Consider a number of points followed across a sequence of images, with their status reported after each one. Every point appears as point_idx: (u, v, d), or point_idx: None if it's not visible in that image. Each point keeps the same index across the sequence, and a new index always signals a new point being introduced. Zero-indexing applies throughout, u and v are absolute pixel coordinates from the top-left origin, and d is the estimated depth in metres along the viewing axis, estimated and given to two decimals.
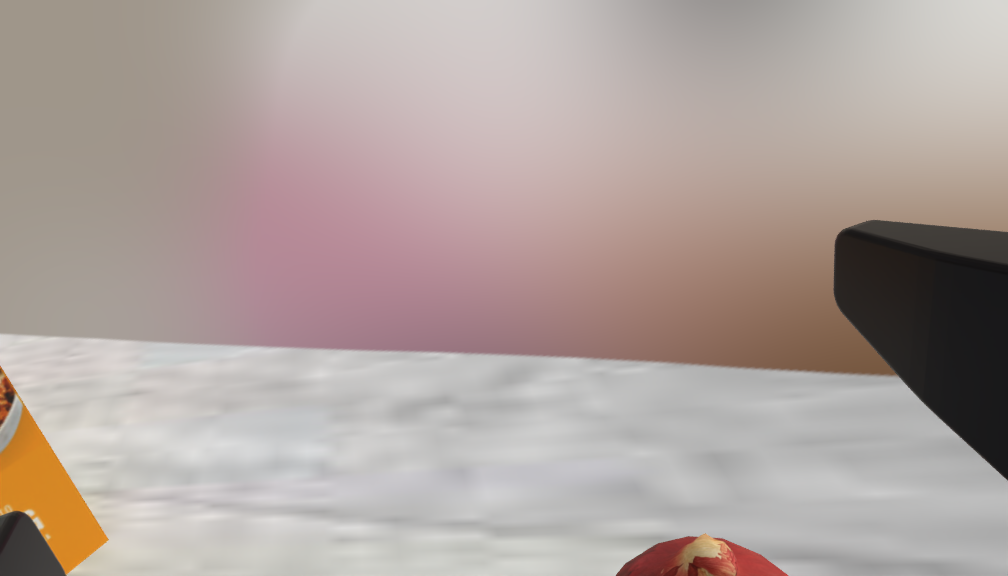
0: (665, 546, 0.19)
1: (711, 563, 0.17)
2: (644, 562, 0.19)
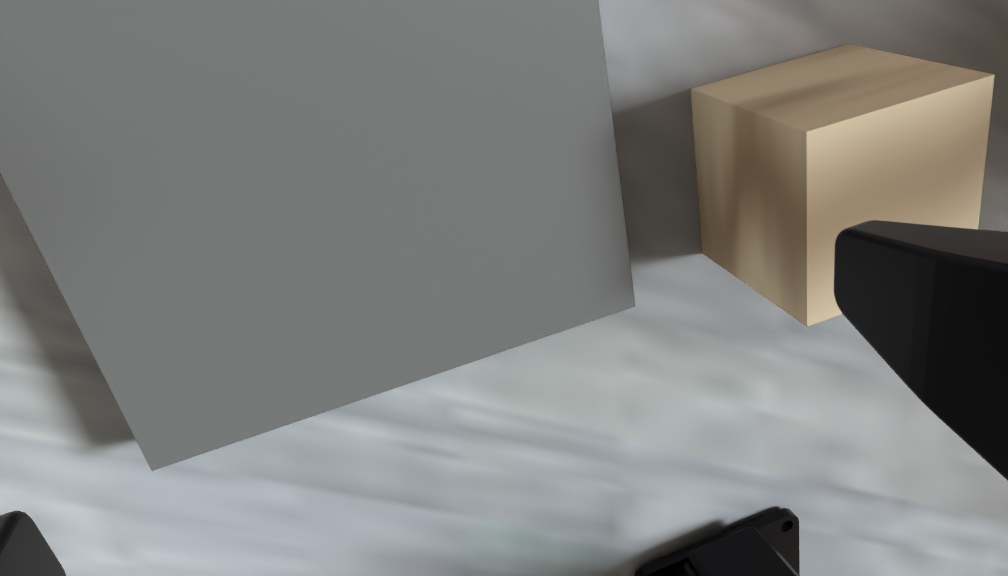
0: None
1: None
2: None
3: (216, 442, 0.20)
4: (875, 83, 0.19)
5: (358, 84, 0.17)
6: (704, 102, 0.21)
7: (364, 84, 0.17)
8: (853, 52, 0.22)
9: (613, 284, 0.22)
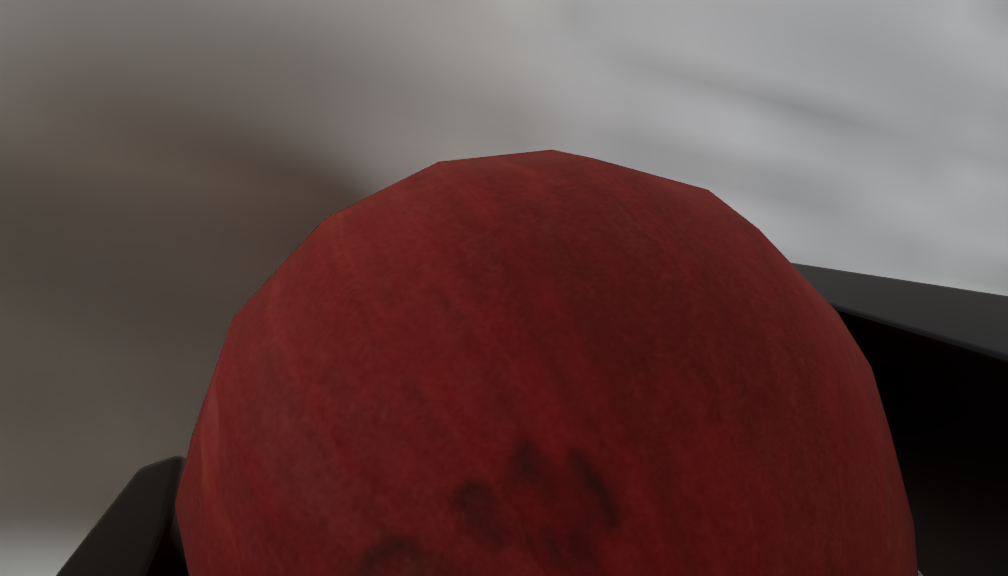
0: None
1: None
2: None
3: None
4: None
5: None
6: None
7: None
8: None
9: None
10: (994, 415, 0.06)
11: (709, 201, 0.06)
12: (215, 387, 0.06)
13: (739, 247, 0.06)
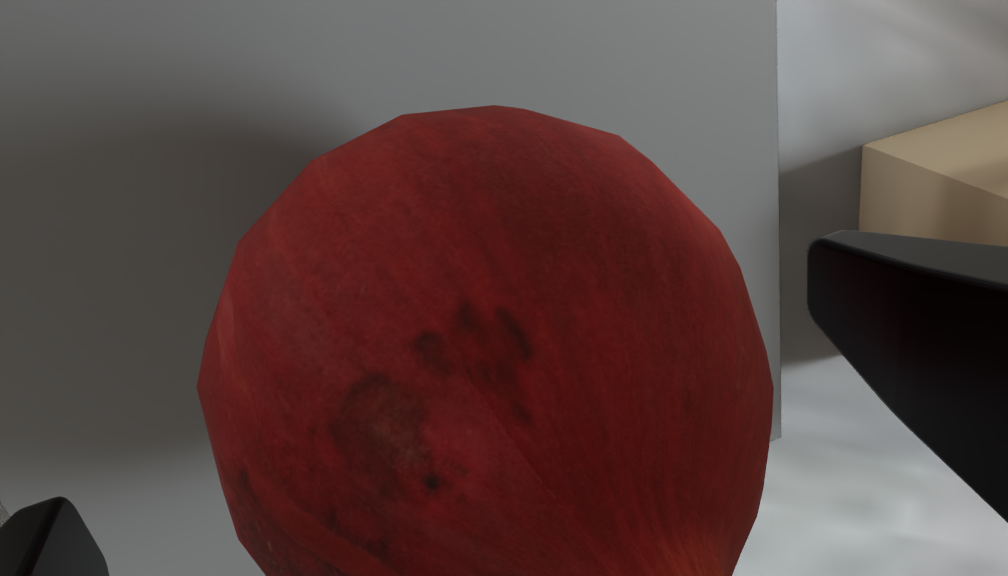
0: (568, 428, 0.06)
1: None
2: (491, 481, 0.06)
3: None
4: None
5: None
6: (888, 166, 0.15)
7: None
8: None
9: None
10: None
11: (616, 142, 0.08)
12: (228, 289, 0.07)
13: (633, 173, 0.07)
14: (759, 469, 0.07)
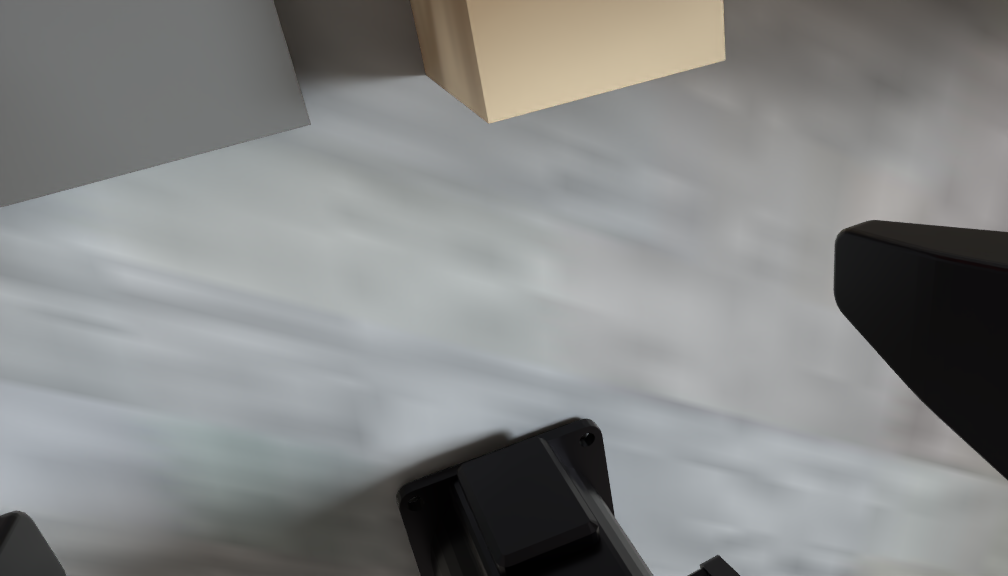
0: None
1: None
2: None
3: None
4: None
5: None
6: None
7: None
8: None
9: (272, 90, 0.17)
10: None
11: None
12: None
13: None
14: None
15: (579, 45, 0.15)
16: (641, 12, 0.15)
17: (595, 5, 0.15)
